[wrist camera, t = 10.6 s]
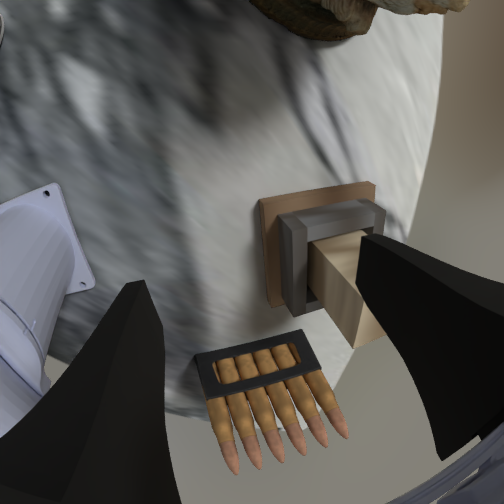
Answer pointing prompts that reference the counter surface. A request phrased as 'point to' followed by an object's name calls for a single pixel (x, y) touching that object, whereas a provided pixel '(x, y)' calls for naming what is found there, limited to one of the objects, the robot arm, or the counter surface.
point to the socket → (310, 235)
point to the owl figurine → (344, 14)
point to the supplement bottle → (1, 28)
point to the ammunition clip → (257, 391)
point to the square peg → (341, 286)
